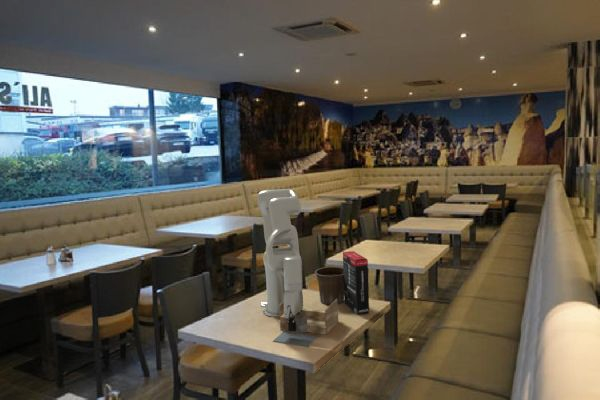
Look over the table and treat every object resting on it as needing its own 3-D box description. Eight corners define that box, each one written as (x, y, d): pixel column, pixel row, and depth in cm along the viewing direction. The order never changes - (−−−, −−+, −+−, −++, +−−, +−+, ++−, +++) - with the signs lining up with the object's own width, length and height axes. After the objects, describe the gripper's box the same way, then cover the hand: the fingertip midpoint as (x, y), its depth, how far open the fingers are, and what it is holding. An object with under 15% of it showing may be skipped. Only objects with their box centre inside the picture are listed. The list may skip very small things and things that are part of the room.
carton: (278, 330, 201) (277, 305, 200) (295, 315, 217) (294, 293, 216) (325, 336, 192) (324, 311, 191) (339, 321, 209) (338, 297, 207)
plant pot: (335, 309, 224) (334, 277, 222) (309, 302, 234) (308, 272, 232) (353, 300, 236) (353, 269, 234) (328, 294, 247) (328, 265, 245)
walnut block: (280, 330, 190) (279, 316, 189) (285, 326, 195) (285, 312, 194) (302, 333, 186) (302, 319, 185) (307, 329, 191) (306, 315, 190)
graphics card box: (370, 314, 216) (369, 258, 212) (356, 316, 214) (355, 259, 211) (355, 302, 232) (354, 250, 229) (343, 304, 230) (341, 251, 227)
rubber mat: (273, 341, 189) (273, 340, 189) (283, 332, 198) (283, 331, 198) (308, 347, 183) (308, 346, 183) (317, 337, 192) (317, 336, 192)
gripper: (293, 279, 197) (295, 320, 199) (276, 291, 182) (278, 335, 184) (309, 281, 194) (311, 322, 196) (293, 293, 179) (295, 337, 181)
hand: (295, 328), depth 190 cm, fingers closed on walnut block, 5 cm apart
